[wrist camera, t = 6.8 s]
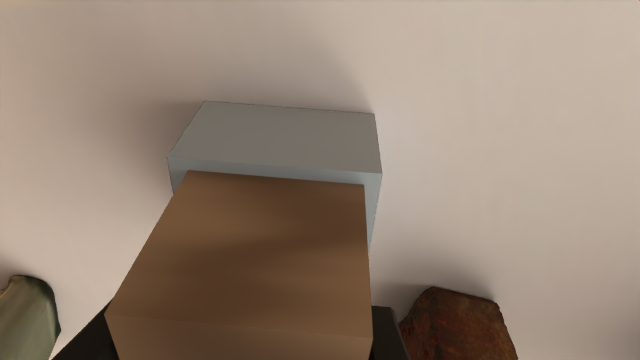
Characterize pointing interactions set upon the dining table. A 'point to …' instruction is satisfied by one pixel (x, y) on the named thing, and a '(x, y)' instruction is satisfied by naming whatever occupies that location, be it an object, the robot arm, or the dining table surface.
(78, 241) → the dining table surface
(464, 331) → the brick
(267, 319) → the walnut cube
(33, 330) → the tan tapered stone
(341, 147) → the slate block
